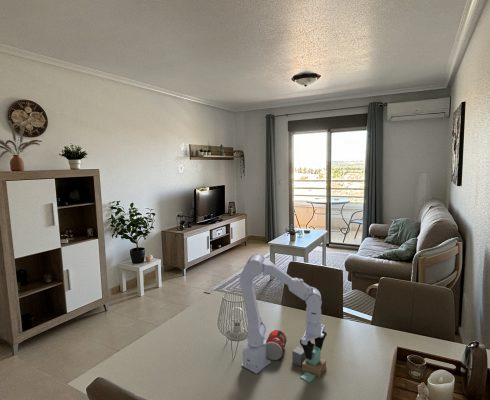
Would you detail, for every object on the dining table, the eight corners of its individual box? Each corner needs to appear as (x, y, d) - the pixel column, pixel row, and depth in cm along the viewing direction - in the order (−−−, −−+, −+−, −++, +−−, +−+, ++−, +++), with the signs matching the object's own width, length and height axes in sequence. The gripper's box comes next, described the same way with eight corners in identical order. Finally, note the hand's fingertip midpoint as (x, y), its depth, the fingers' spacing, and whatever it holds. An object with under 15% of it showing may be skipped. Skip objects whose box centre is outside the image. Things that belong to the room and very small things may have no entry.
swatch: (309, 382, 116) (309, 381, 116) (300, 377, 119) (300, 376, 119) (315, 376, 119) (315, 375, 119) (306, 372, 122) (306, 371, 122)
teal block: (305, 361, 124) (305, 348, 123) (311, 356, 126) (311, 344, 126) (314, 365, 121) (314, 353, 120) (320, 360, 124) (320, 348, 123)
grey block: (300, 366, 125) (300, 354, 125) (292, 362, 128) (292, 350, 128) (306, 361, 128) (306, 350, 128) (297, 357, 131) (297, 346, 131)
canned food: (289, 344, 138) (284, 358, 128) (272, 347, 141) (267, 362, 131) (283, 327, 138) (278, 340, 128) (266, 331, 141) (260, 344, 131)
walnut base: (319, 378, 119) (319, 369, 118) (302, 371, 123) (302, 363, 122) (326, 368, 124) (326, 359, 124) (309, 362, 128) (309, 354, 128)
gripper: (313, 331, 114) (313, 367, 115) (331, 317, 125) (331, 349, 126) (296, 325, 119) (296, 359, 120) (315, 311, 129) (315, 343, 131)
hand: (313, 354), depth 123 cm, fingers open, 7 cm apart
